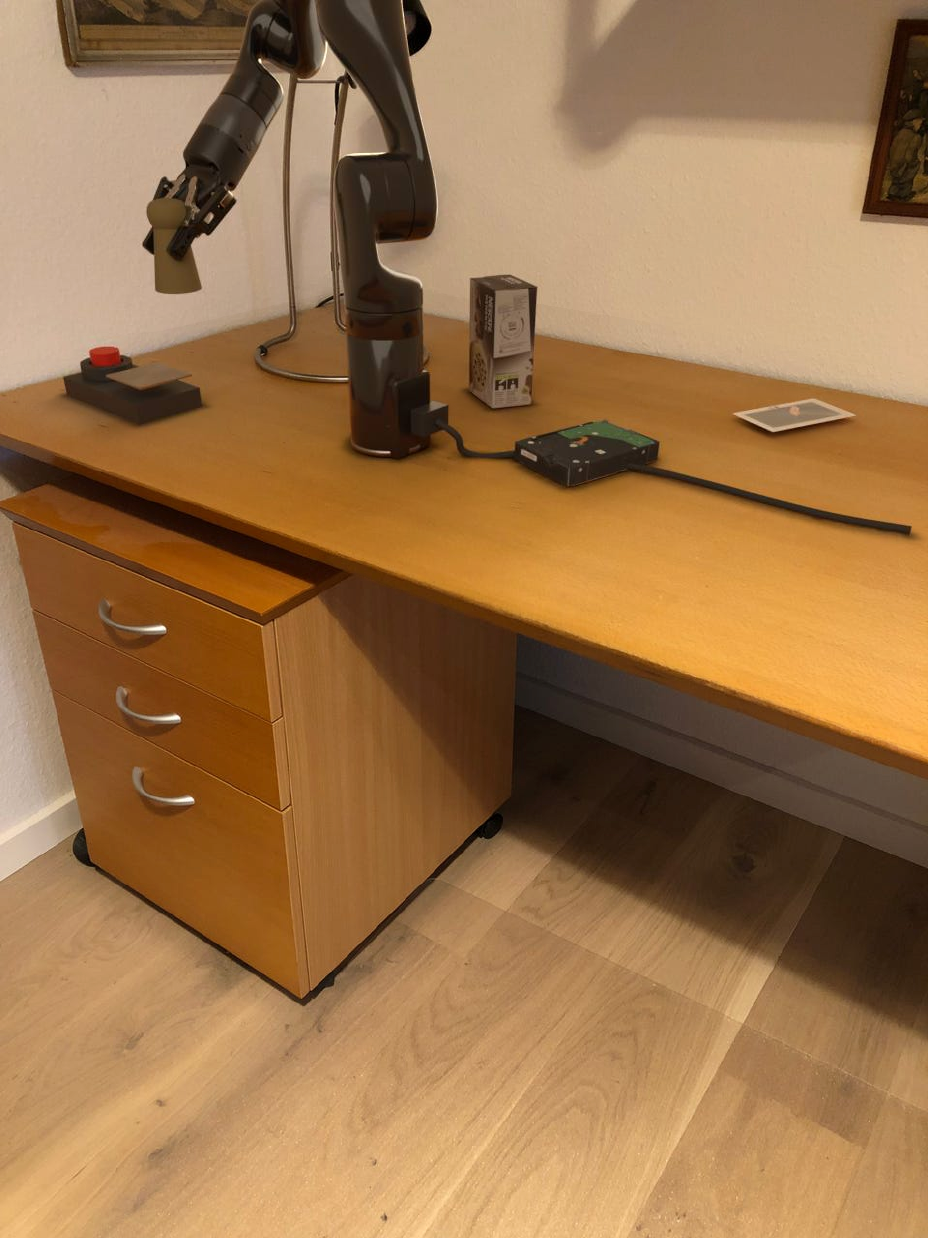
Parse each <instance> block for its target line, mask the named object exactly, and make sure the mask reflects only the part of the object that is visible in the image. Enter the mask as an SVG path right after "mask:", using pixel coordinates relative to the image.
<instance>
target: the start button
mask: <svg viewBox="0 0 928 1238" xmlns="http://www.w3.org/2000/svg"><path fill="white" fill-rule="evenodd" d="M88 355H89V358H90V360H91V365H93V366H112V365H116V364H119V363H121V358H120V355H121V353H120V348H118V347H115V346H97V347H94V348H91V349H89V351H88Z"/></svg>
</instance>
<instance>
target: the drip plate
mask: <svg viewBox="0 0 928 1238" xmlns="http://www.w3.org/2000/svg"><path fill="white" fill-rule="evenodd" d="M192 376H193V375H192V373H189V372H187V371H185V370H181V369H177V368H175V367H171V366H169V365H166V364H163V363H160V362H153V363H149V364H144V365H141V366H139V367H137V368H133V369H129V370H125V371H121V372H117V373H113V374H109V375H106V377H107V378H110V379H113V380H115V381H118V382H121V383H123V384H126V385H129V386H131V387H134V388H137V389H140V390H142V389H146V388H150V387H153V386H157V385H161V384H165V383H168V382H172V381H176V380H179V381H180V380H183V379H187V378H190V377H192Z"/></svg>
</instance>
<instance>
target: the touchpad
mask: <svg viewBox="0 0 928 1238" xmlns="http://www.w3.org/2000/svg"><path fill="white" fill-rule="evenodd" d="M731 414H732V415H734V416H736V417H738V418H740V419H743V420H746V421H747V422H749V423H751V424H754V425H755V426H758V427H761V428H763V429H764V430H767V431H768V432H769V431H770V432H771V433H775V432H780V431H785V430H790V429H795V428H799V427H800V428H801V427H806V426H810V425H815V424H820V423H825V422H831V421H836V420H840V419H846V418H851V417H855V416H857V415H856V413H852V412H849V411H847V410H844V409H842V408H840V407H837V406H834V405H831V404H830V403H827V402H825V401H822V400H819V399H817V398H814V397H813V398H808V399H803V400H796V401H791V402H786V403H782V404H776V405H771V406H770V405H769V406H765V407H759V408H753V409H749V410H745V411H744V410H743V411H738V412H732V413H731Z"/></svg>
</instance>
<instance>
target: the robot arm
mask: <svg viewBox="0 0 928 1238" xmlns="http://www.w3.org/2000/svg"><path fill="white" fill-rule="evenodd" d="M403 7H404V6H403V0H258V2H256V3H255V4H254V5H253V6H252V7H251V8H250V11H249V13H248V16H247V19H246V23H245V27H244V32H243V36H242V37H243V38H242V41H241V45H240V49H239V52H238V55H237V58H236V61H235V65H234V67H233V70H232V72H231V74H230V76H229V77H228V79H227V80H226V82H225V84H224V86H223V87H222V89H221V91H220V92H219V94H218V96H217V97H216V99H214V100H213V102H212V104H210V106H209V107H208V109H207V110H206V112H205V113H204V115H203V117H202V119H201V120H200V122H199V124H198V125H197V127H196V128H195V130H194V132H193V134H192V136H191V137H190V139H189V141H188V142H187V143H186V146H185V147H184V149H183V151H182V157H183V160H184V164H185V168H184V169H183V170H182V171H181V172H180V174H178V176H177V177H176V179H173V180H170V178H169V177H167V176H162V177H161V178H160V180H159V183H158V185H157V187H156V190H155V192H154V195H153V198H152V200H151V201H153V200H156V199H160V198H173V199H178V200H181V201H183V202H184V203H185V204H184V206H185V209H186V215H185V217H184V219H183V221H182V225H183V226H184V227H181V226H179V228H178V229H177V231H176V233H175V235H174V236H173V238H172V240H171V241H170V243H169V245H168V247H167V249H166V251H167V253H168V254H169V255H170V256H171V257H172V258H173V259H175V260H177V261H181V260H182V259H183V257H184V256H185V254H186V253H187V251H188V249H189V247H190V246H191V247H192V244H193V243H194V241H195V240H196V239H199V238H201V236H202V235H203V234H204V235H205V236H207V237H209V236H211V235H212V234H213V232H214V231H215V230H216V229H217V228H218V226H219V225H220V223H222V221H223V220H224V219H225V218H226V216H227V215H228V213H229V212H231V210H232V209H233V208H234V207H235V205H236V204H237V202H238V201H237V198H236V197H235V196H234V195H233V193H232V192H234V191H235V190H236V189H237V187H238V185H239V183H240V182H241V180H242V178H243V177H244V175H245V173H246V171H247V169H248V168H249V167H250V164H251V162H252V161H253V160H254V158H255V156H256V154H257V153H258V150H259V149H260V147H261V144H262V142H263V139H264V136H265V134H266V132H267V131H268V129H269V127H270V126H271V124H272V122H273V120H274V119H275V117H276V115H277V113H278V112H279V110H280V109H281V106H282V105H283V102H284V97H285V96H284V89H283V86H282V85H281V83H280V82H279V81H278V79H277V78H276V77H275V76H274V75H273V74H272V73H271V72H270V71H269V70H268V69H267V68H266V67H265V66H264V65H263V63H264V62H265V61H266V62H268V63H269V64H271V65H273V66H275V67H276V68H279V69H280V70H282V71H284V72H285V73H287V74H288V75H290V76H293V77H294V78H297V79H299V80H308V79H312V78H313V77H314V76H316V75H317V74H318V73H319V72H320V71H321V69H322V67H323V65H324V63H325V60H326V58H327V57H326V56H327V51H328V47H329V49H330V50H331V52H332V53H333V55H334V56H335V58H336V59H337V60H338V62H339V63H340V65H341V66H342V67H343V69H344V70H345V71H346V73H347V74H348V75H349V76H350V78H351V79H352V81H353V82H354V83H355V85H356V86H357V87H358V88H359V90H360V91H361V92H362V94H363V96H364V97H365V98H366V100H367V102H368V103H369V105H370V107H371V108H372V110H373V112H374V114H375V116H376V119H377V121H378V124H379V126H380V130H381V132H382V135H383V139H384V143H385V146H386V150H387V152H361V153H360V152H359V153H349V154H345V155H344V156H341V158H340V159H339V160H338V162H337V164H336V167H335V170H334V174H333V184H332V185H333V187H332V188H333V209H334V218H335V227H336V236H337V247H338V257H339V258H338V259H339V270H340V278H341V285H342V290H343V291H342V292H343V303H344V320H345V342H346V343H345V344H346V345H345V347H346V360H347V361H346V364H347V381H348V383H347V384H348V399H349V400H348V404H349V419H350V420H349V422H350V446H351V447H352V449H353V450H354V451H357V452H359V453H361V454H364V455H368V456H374V457H383V458H384V457H388V458H394V459H396V460H399V459H401V458H404V457H406V456H408V455H411V454H414V453H416V452H418V451H422V450H423V449H426V448H428V447H431V435H434V434H436V433H439V432H442V431H444V432H446V433H447V434H448V435H450V437H452V438H453V439H454V441H455V443H456V444H455V445H456V449H457V451H458V452H459V454H460V455H462V456H464V457H467V458H473V459H474V458H476V459H477V458H479V459H495V460H496V459H498V460H501V459H502V460H503V459H504V460H505V459H514V456H515V450H506V451H499V452H498V451H497V452H485V453H483V452H482V453H481V452H475V451H472V450H470V449H468V448H466V447H465V446H464V440H463V437H462V435H461V434H460V433H459V432H458V430H457V429H455V428H454V427H452V426H451V425H449V404H447V403H444V402H440V401H436V400H431V374H430V371H428V370H424V369H425V368H424V363H425V361H424V358H425V357H424V286H423V284H422V281H421V279H420V278H418V277H417V276H415V275H412V274H411V273H407V272H405V271H401V270H398V269H394V268H391V267H389V266H387V265H385V264H384V263H382V262H381V260H380V255H379V251H378V245H385V244H396V243H397V244H398V243H408V242H409V243H410V242H419V241H423V240H426V239H428V238H429V237H431V235H432V234H433V232H434V230H435V228H436V225H437V221H438V212H439V211H438V210H439V205H438V204H439V201H438V191H437V182H436V176H435V172H434V167H433V162H432V157H431V153H430V149H429V144H428V141H427V136H426V132H425V127H424V124H423V119H422V115H421V110H420V106H419V101H418V97H417V92H416V87H415V82H414V77H413V71H412V65H411V58H410V52H409V45H408V39H407V38H408V37H407V31H406V23H405V15H404V8H403ZM211 218H212V219H211ZM142 247H143V249H144V250H146V252H148V253H149V254H150V255H152V256H154V233H153V226H152V225H151V227H150V229H149V231H148V233H147V234H146V236H145V237H144V239H143V241H142ZM627 470H630V471H634V472H639V473H644V474H650V475H653V476H659V477H663V478H667V479H671V480H674V481H679V482H682V483H687V484H691V485H694V486H699V487H702V488H706V489H710V490H713V491H717V492H721V493H724V494H728V495H731V496H735V497H738V498H742V499H744V500H749V501H752V502H755V503H759V504H763V505H766V506H767V505H768V506H771V507H775V508H779V509H783V510H785V511H790V512H792V513H798V514H801V515H805V516H809V517H814V518H817V519H821V520H822V519H823V520H827V521H832V522H836V523H841V524H846V525H851V526H857V527H863V528H869V529H874V530H875V529H876V530H880V531H887V532H892V533H899V534H900V533H901V534H906V535H911V532H912V525H906V524H900V523H895V522H890V521H889V522H888V521H882V520H875V519H869V518H863V517H858V516H851V515H846V514H842V513H836V512H833V511H827V510H822V509H818V508H814V507H810V506H806V505H801V504H797V503H794V502H790V501H786V500H782V499H779V498H774V497H771V496H767V495H763V494H761V493H760V494H759V493H756V492H752V491H748V490H744V489H741V488H737V487H734V486H731V485H727V484H723V483H719V482H716V481H712V480H708V479H705V478H701V477H697V476H693V475H689V474H686V473H685V474H684V473H681V472H677V471H673V470H669V469H665V468H659V467H655V466H652V465H647V464H644V465H641V464H636V463H629V464H628V465H627Z"/></svg>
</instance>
